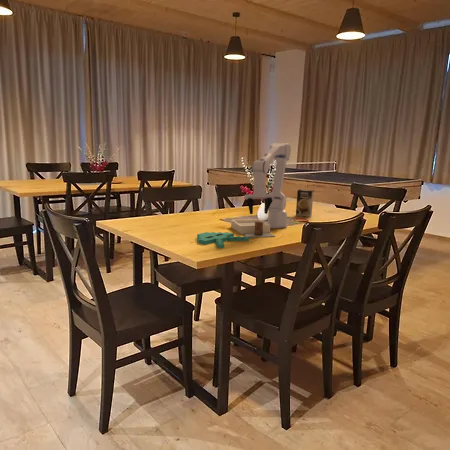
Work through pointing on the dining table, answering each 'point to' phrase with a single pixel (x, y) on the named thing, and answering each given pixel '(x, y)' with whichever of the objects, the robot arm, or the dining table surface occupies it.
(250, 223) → the open box
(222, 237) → the alien figure
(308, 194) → the coffee box
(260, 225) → the walnut cylinder
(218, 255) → the dining table surface
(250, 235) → the slate mat
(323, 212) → the dining table surface
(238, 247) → the dining table surface
